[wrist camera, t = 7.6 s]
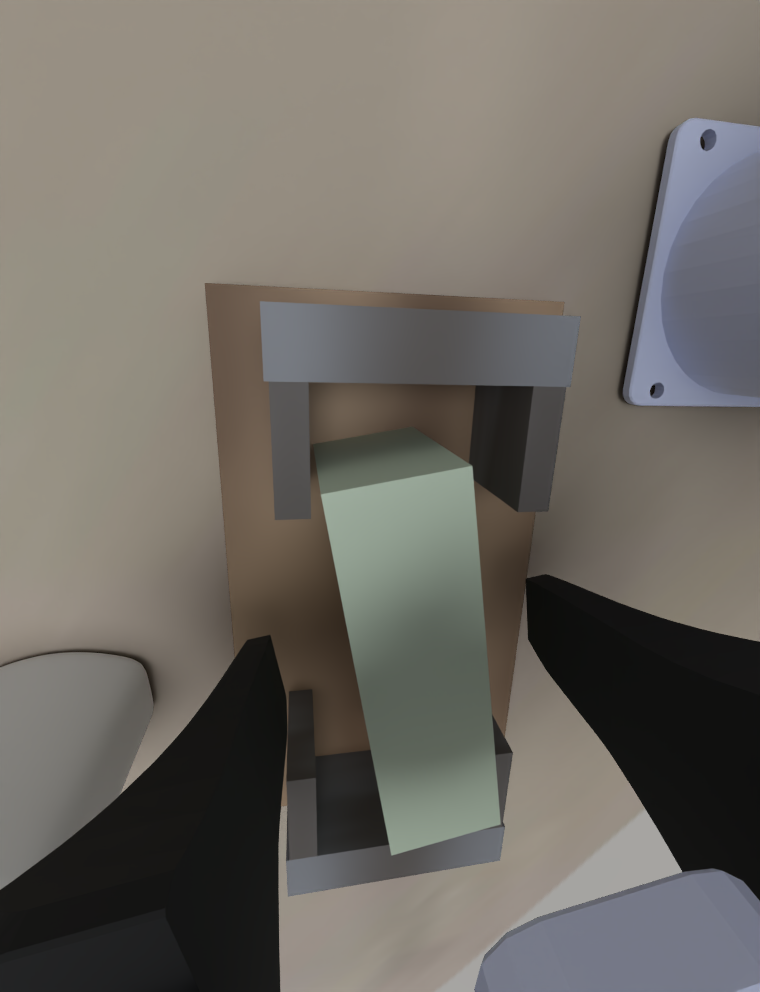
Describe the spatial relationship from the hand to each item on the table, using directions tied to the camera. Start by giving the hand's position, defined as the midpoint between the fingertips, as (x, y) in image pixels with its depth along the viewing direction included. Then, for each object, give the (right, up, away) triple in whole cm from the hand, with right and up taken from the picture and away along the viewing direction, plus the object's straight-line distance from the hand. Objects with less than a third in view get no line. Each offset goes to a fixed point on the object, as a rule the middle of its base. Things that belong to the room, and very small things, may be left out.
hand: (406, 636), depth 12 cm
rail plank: (-1, +1, +3) cm, 3 cm away
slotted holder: (-1, +1, +4) cm, 4 cm away
